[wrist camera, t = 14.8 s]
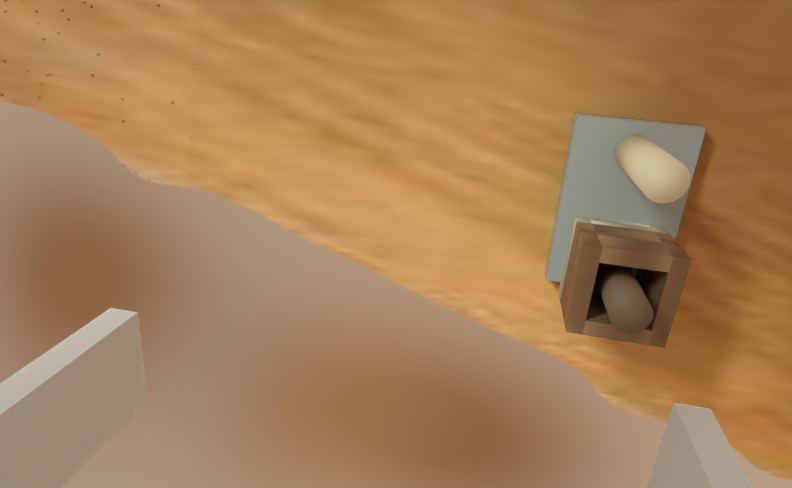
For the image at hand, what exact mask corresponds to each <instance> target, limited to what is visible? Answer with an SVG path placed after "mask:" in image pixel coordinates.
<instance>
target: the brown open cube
mask: <svg viewBox="0 0 792 488" xmlns="http://www.w3.org/2000/svg"><path fill="white" fill-rule="evenodd" d="M690 261H691V259H690V258H689V257H688V255H687V254H686V253H685V252H684V250H683V249H682V248H681V247H680V246H679V244H678V243H677V242H676V241H675V240H674V238H673V237H672V236H671V235H670V233H669V232H668V231H667V230H666V229H665V227H660V226H652V225H645V224H637V223H629V222H622V221H614V220H606V219H598V218H591V217H583V216H575V215H574V220H573V225H572V230H571V234H570V239H569V244H568V249H567V253H566V258H565V263H564V268H563V273H562V277H561V282H560V287H559V297H560V302H561V307H562V312H563V317H564V322H565V327H566V332H571V333H577V334H583V335H589V336H596V337H602V338H608V339H614V340H621V341H627V342H633V343H639V344H646V345H652V346H658V347H664V348H665V345H666V341H667V338H668V335H669V331H670V328H671V325H672V321H673V318H674V315H675V311H676V308H677V305H678V301H679V298H680V295H681V291H682V288H683V285H684V281H685V278H686V275H687V271H688V268H689V265H690ZM599 263H604V264H612V265H619V266H626V267H633V268H638V269H637V273H636V276H635V277H636V279H637V280H638V282H639V284H640V286H641V288H642V290H643V292H644V294H645V295H646V297H647V299H648V301H649V303H650V305H651V307H652V309H653V319H652V321H651V323H650V324H649V326H648V327H646V328H645V329H644V330H642V331H640V332H636V333H625V332H621V331H619V330H617V329H616V328H615V327H614V326H613V325H612V324H611V322H610V319H609V316H608V313H607V311H606V308H605V305H604V302H603V300H602V297H601V294H600V291H599V288H598V286H597V285H594V283H595V279H596V274H597V270H598V266H599Z"/></svg>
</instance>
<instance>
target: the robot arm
mask: <svg viewBox="0 0 792 488" xmlns="http://www.w3.org/2000/svg"><path fill="white" fill-rule="evenodd" d="M146 402H147V392H146V382H145V374H144V365H143V355H142V347H141V337H140V328H139V321H138V313H137V312H132V311H126V310H120V309H113V308H110V309H109V310H107V311H106V312H104V313H103V314H101V315H100V316H99V317H97V318H96V319H94V320H93V321H91V322H90V323H88V324H87V325H85V326H84V327H82V328H81V329H79V330H78V331H77V332H75V333H74V334H72V335H71V336H69V337H68V338H66V339H65V340H63V341H62V342H61V343H59V344H58V345H56V346H55V347H53V348H52V349H50V350H49V351H47V352H46V353H44V354H43V355H42V356H40V357H38V358H37V359H36V360H34V361H33V362H31V363H30V364H28V365H27V366H25V367H24V368H22V369H21V370H19V371H18V372H16V373H15V374H14V375H12V376H11V377H9V378H8V379H6V380H5V381H3V382H2V383H1V384H0V488H61V487H62V486H63V485H64V484H65V483H66V482H67V481H68V480H69V479H70V478H71V477H72V476H73V475H74V474H75V473H76V472H77V471H78V470H79V469H80V468H81V467H82V466H83V465H84V464H85V463H86V462H87V461H88V460H89V459H90V458H91V457H92V456H93V455H94V454H95V453H96V452H97V451H98V450H99V449H100V448H101V447H102V446H103V445H104V444H105V443H106V442H107V441H108V440H109V439H110V438H111V437H112V436H113V435H114V434H115V433H116V432H117V431H118V430H119V429H120V428H121V427H122V426H123V425H124V424H125V423H126V422H127V421H128V420H129V419H130V418H131V417H132V416H133V415H134V414H135V413H136V412H137V411H138V409H140V407H142V406H143V405H144V404H145V403H146ZM648 488H753V486H752V484H751V482H750V480H749V478H748V476H747V475H746V473H745V472H744V469H743V467H742V466H741V464H740V462H739V460H738V458H737V456H736V454H735V453H734V451H733V449H732V447H731V445H730V443H729V442H728V440H727V438H726V436H725V434H724V432H723V431H722V429H721V427H720V425H719V423H718V421H717V420H716V418H715V416H714V414H713V412H712V410H711V409H710V408H704V407H698V406H692V405H686V404H680V403H674V404H673V407H672V410H671V413H670V417H669V420H668V423H667V426H666V429H665V433H664V436H663V439H662V442H661V446H660V449H659V452H658V455H657V458H656V462H655V465H654V468H653V471H652V475H651V478H650V481H649V484H648Z"/></svg>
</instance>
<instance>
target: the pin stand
mask: <svg viewBox="0 0 792 488" xmlns="http://www.w3.org/2000/svg"><path fill="white" fill-rule="evenodd" d="M705 131H706V128H705V127H703V126H700V125H691V124H680V123H670V122H660V121H649V120H639V119H628V118H618V117H608V116H597V115H587V114H576V113H575V118H574V123H573V128H572V134H571V139H570V144H569V150H568V155H567V160H566V165H565V171H564V176H563V181H562V187H561V192H560V197H559V203H558V208H557V213H556V219H555V224H554V229H553V235H552V240H551V245H550V251H549V256H548V261H547V267H546V272H545V276H546V280H548V281H555V282H561V277H562V273H563V268H564V263H565V258H566V253H567V249H568V244H569V239H570V234H571V230H572V225H573V220H574V215H575V216H583V217H591V218H598V219H606V220H614V221H622V222H629V223H637V224H645V225H652V226H660V227H665V229H666V230H667V231H668V232H669V233H670V235H671V236H672V237H673V238H674V240H676V236H677V233H678V229H679V225H680V222H681V218H682V214H683V211H684V207H685V204H686V200H687V196H688V193H689V189H690V185H691V182H692V178H693V175H694V171H695V167H696V164H697V160H698V156H699V153H700V149H701V146H702V142H703V138H704V135H705ZM637 269H638V268H633V267H626V266H619V265H612V264H604V263H599V266H598V270H597V274H596V279H595V283H594V285H597V286H598V288H599V291H600V294H601V297H602V300H603V302H604V305H605V308H606V311H607V313H608V316H609V319H610V322H611V324H612V325H613V326H614V327H615V328H616V329H617V330H619V331H621V332H625V333H636V332H640V331H642V330H644V329H645V328H646V327H648V326H649V324H650V323H651V321H652V319H653V309H652V307H651V305H650V303H649V301H648V299H647V297H646V295H645V294H644V292H643V290H642V288H641V286H640V284H639V282H638V280H637V279H636V277H635V276H636V273H637Z"/></svg>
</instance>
